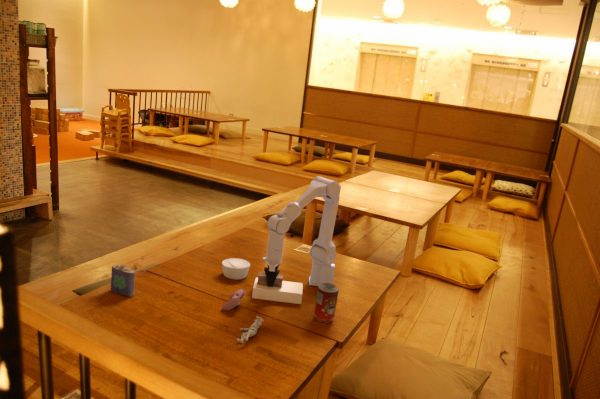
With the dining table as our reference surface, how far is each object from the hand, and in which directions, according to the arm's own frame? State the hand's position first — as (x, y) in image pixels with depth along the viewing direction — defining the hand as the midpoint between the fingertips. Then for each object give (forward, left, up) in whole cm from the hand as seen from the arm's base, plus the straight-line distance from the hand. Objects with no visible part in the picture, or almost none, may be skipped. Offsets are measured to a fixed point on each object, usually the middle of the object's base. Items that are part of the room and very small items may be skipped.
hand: (270, 282), depth 176 cm
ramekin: (+15, -14, -5) cm, 21 cm away
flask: (+50, +14, -5) cm, 52 cm away
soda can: (-20, +14, -5) cm, 25 cm away
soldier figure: (+4, +31, -5) cm, 32 cm away
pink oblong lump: (+12, +13, -5) cm, 18 cm away
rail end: (0, 0, -4) cm, 4 cm away
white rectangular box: (-3, 0, -5) cm, 6 cm away
